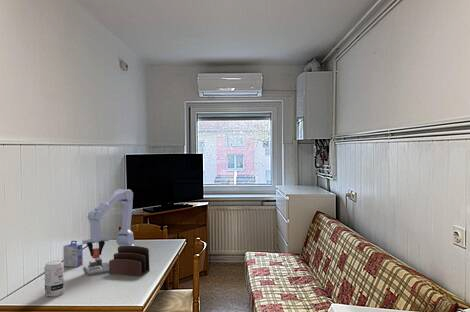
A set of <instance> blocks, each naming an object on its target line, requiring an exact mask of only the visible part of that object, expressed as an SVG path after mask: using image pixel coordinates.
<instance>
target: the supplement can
mask: <svg viewBox="0 0 470 312" xmlns="http://www.w3.org/2000/svg"><path fill="white" fill-rule="evenodd" d="M64 267H65V266H64V265H63V262H62V261H61V260H55V261H54V260H53V261H49V262H46V263H45V265H44V267H43V268H44V295H45V296H46V297H47V296H56V297H59V296H61V294H62V295H63V293H65V275H64V272H65V270H64Z"/></svg>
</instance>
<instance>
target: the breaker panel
mask: <svg viewBox="0 0 470 312" xmlns="http://www.w3.org/2000/svg"><path fill="white" fill-rule="evenodd" d="M83 269H84V270H85V272H86V273H87V275H88V276H89V277H90V276H96V275H101V274H106V273H108V274H109V262H102V265H96V266H95V267H89V264H87V265H84V266H83Z"/></svg>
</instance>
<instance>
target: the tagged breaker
mask: <svg viewBox="0 0 470 312" xmlns="http://www.w3.org/2000/svg"><path fill="white" fill-rule="evenodd" d="M88 263H89V264H88V265H89V267H95V266H96V262H95V260H91V261H89V262H88Z"/></svg>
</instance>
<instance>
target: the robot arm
mask: <svg viewBox="0 0 470 312" xmlns="http://www.w3.org/2000/svg"><path fill="white" fill-rule="evenodd" d="M133 200H134V192H133V191H132V189H129V188H128V189H121V188H117V189H115V191H113V194H112V195H111V196H110V197H109V198H108V199H107V200H106V201H103V202H100V204H99V205H98V206H97V207H95V208H94V209H92V210H91V211H89V212H88V215H87V220H88V221H89V233H90V234H89V235H90V236H89V239H83V240H81V243H82V244H81V245H86V246H87V248H88V250H89V252H90V256H91V257H92V256H93V249H94V248H93V247H94V246H93V245H94V243H96V244H97V243H98V248H99V253H100V256H102V252H103V249H104V247H105V244H106V242H109V241H110V237H102V230H101V229H102V225H101V223H102V222H101V221H102V220H103V219H104V215H106V213H107V212H109V210H111V209H110V208H111V206H112V205H113V204H115V203H116V202H117V201H119V202H121V203H122V204H123V206H122V219H121V228H120V230H119V231H117V235H116V243H117V244H118V247H120V246H136V245H135V244H134V241H135V237H134V232H133V231H132V230H131V225H132V216H133V215H132V213H133V203H134V202H133Z"/></svg>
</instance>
